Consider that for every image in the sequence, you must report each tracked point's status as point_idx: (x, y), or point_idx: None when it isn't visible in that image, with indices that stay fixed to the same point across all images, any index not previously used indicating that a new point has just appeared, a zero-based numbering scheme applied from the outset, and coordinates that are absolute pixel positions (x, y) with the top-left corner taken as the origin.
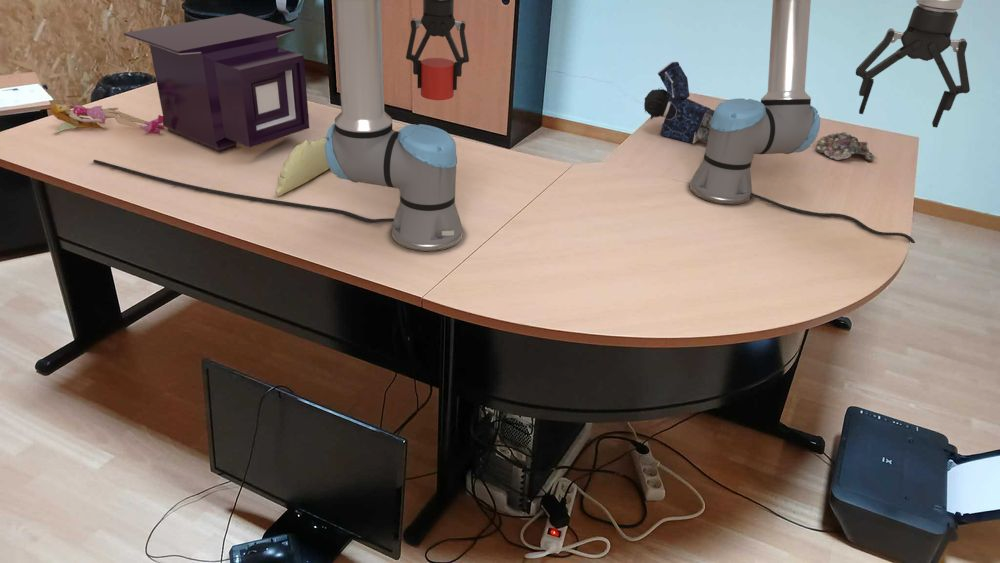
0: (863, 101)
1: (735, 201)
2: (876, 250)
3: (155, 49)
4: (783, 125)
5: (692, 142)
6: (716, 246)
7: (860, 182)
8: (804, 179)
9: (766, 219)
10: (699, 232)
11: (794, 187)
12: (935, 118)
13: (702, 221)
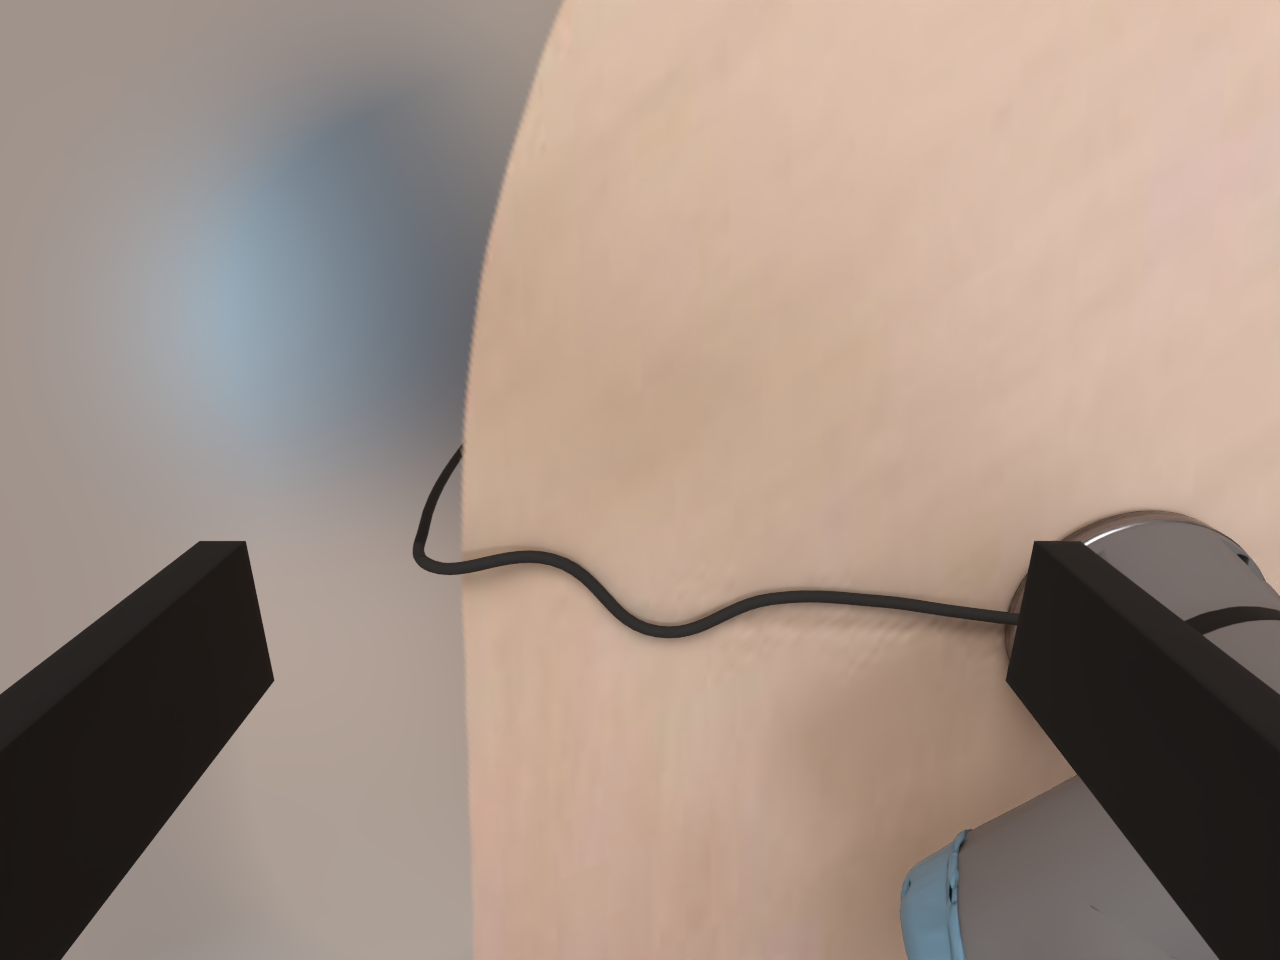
0: (1181, 623)
1: (1078, 540)
2: (541, 426)
3: None
4: (1137, 899)
5: None
6: (1168, 106)
7: (617, 924)
8: (802, 862)
9: (946, 475)
10: (1233, 206)
11: (837, 786)
12: (203, 625)
13: (1211, 320)
